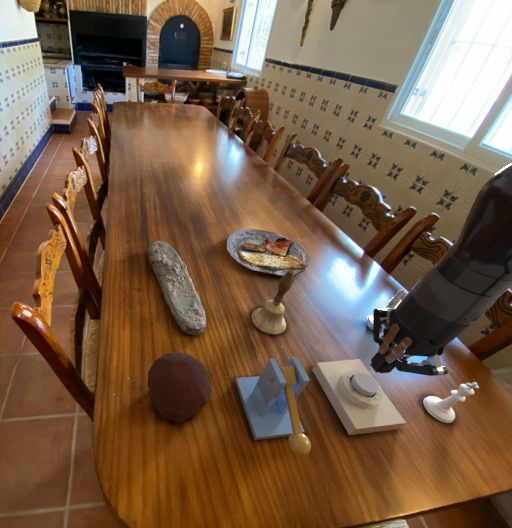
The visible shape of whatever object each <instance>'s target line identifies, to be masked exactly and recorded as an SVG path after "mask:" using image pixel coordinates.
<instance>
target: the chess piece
mask: <svg viewBox="0 0 512 528" xmlns="http://www.w3.org/2000/svg"><path fill="white" fill-rule="evenodd" d="M474 389H475V390H479V389H480V386H479V385H478V383H477V382H476V381H473V382H471V383H470V382H465V383H461V384H459V387H458V389H452V390H450V394H451V395H450V396H448V397H446V398H444V399H442V398H440V397H438V396H435V395H429V396H426V397H424V399H423V406H424V408H425V410H426V411H427V413H428V414H429V415H431V416H432V417H433V418H435V419H436V420H437V421H440V422H442V423H446V424H449V423H453V422H454V420H455V419H456V413H455V410H454V408H453V406H454V405H455V404H456V403H457V402H462V403H463V402H465V401H466V397H468V396H474V394H475V390H474Z"/></svg>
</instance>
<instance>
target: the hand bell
mask: <svg viewBox="0 0 512 528" xmlns="http://www.w3.org/2000/svg"><path fill="white" fill-rule="evenodd" d="M294 277H295V276H294V271H292V270H288V271H287V273H285V274H284V275H283V276H282V275H281V278H280V279H279V282H278V286H277V292H276V294H275V296H274V297H273V299H267V301H266V302H265V303H264V304H263V306H262V307H259V308H256V309H254V311H252V313H251V316H250V317H251V322H252V324H253V325H254V326H255V327H256V328H257V329H258V330H260V331H261V332H263V333H265V334H269V335H281V334H282V333H284V332H285V331H286V328H287V322H286V319H285V318H284V313H285V306H284V305H283V303H282V302H283V299H284V297H285V295H286V293H288V292H289V290H290V289H291V288H292V286H293V284H294Z"/></svg>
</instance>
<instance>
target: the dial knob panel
mask: <svg viewBox="0 0 512 528" xmlns="http://www.w3.org/2000/svg"><path fill="white" fill-rule="evenodd" d="M311 372H312V373H313V375H314V376H315V378H316V380H317V381H318V383H319V386H320V387H321V388H322V391H323V392H324V394H325V396H326V397H327V399H328V401H329V403H330V404H331V406H332V408H333V410H334V411H335V413H336V415H337V417H338V419H339V420H340V422H341V423H342V425H343V427H344V429H345V430H346V433H347V435H348V436H354V435H361V434H369V433H370V434H371V433H377V432H386V431H394V430H399V429H400V428H402V427H403V426H405V424H407V422H406V421H405V419H404V418H403V417H402V415H401V414H400V412H399V411H398V410H397V408H396V407H395V405H394V404H393V403H392V401H391V399H389V397H388V396H387V395H386V393H385V392H384V390H383V387H381V384H380V383H379V382H378V381H377V379H375V381H376V382H377V384H378V391H377V392H376V393H375V394H373V395H372V396H371V397H365V396H362V395H360V394H358V393H357V392H356V391H355V390H354V389H353V388H352V386H351V379H352V378H353V376H354V375H355V374H356V373H359V372H363V373H366V374H368V375H370V376H371V377H373V375H372V373H371V372H370V371H369V369H368V368H367V367H366V365H365V364H364V363H363V361H362V360H361V358H356V359H345V360H333V361H322V362H321V361H320V362H316V363H315V365H314V366H313V367H312V369H311Z"/></svg>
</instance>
